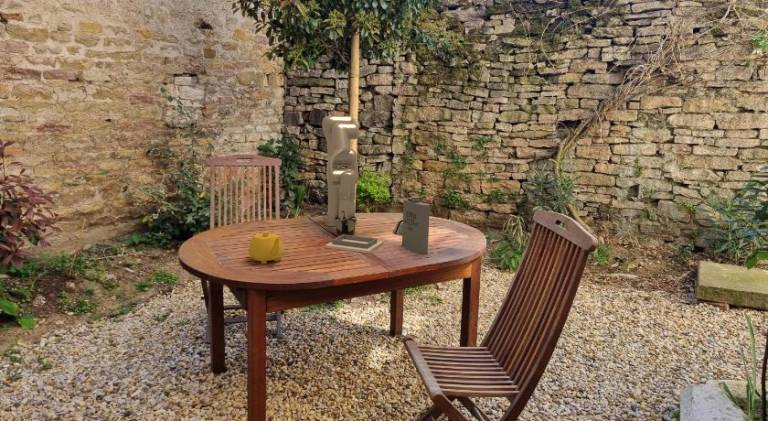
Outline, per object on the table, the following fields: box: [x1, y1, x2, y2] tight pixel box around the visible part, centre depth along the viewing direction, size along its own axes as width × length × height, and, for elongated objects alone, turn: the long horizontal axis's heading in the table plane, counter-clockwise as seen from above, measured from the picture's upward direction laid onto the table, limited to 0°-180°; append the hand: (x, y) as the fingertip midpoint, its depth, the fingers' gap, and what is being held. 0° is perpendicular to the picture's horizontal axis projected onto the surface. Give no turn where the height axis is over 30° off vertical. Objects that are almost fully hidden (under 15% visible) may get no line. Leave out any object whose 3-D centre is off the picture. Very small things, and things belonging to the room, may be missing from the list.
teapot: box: [247, 230, 285, 265], centre depth 209 cm, size 13×20×12 cm
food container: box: [334, 215, 358, 237], centre depth 256 cm, size 12×6×10 cm, turn 68°
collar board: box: [324, 234, 384, 254], centre depth 237 cm, size 22×18×3 cm
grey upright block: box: [401, 195, 431, 255], centre depth 232 cm, size 17×5×25 cm, turn 33°
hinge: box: [392, 217, 403, 236], centre depth 266 cm, size 17×5×10 cm, turn 124°
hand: (347, 231), depth 256 cm, fingers closed on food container, 5 cm apart
